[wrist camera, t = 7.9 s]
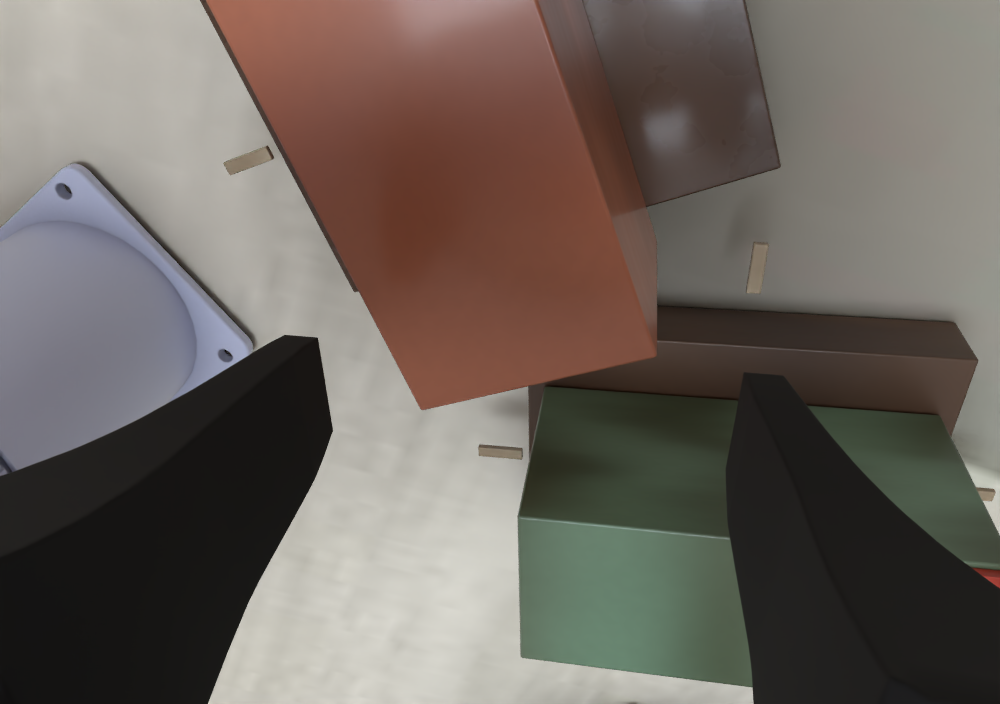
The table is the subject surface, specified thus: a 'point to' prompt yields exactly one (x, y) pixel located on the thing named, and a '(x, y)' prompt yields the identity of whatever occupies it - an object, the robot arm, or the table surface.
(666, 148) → the front stand
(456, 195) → the orange rectangular box
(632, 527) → the green and red block
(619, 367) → the back stand
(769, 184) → the table surface
